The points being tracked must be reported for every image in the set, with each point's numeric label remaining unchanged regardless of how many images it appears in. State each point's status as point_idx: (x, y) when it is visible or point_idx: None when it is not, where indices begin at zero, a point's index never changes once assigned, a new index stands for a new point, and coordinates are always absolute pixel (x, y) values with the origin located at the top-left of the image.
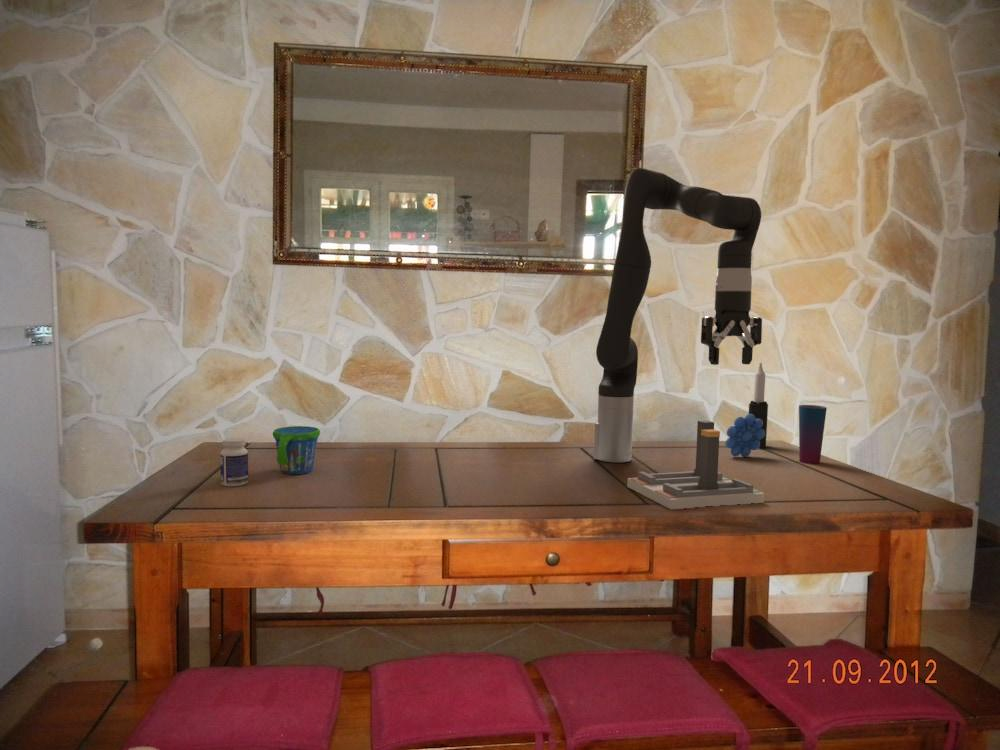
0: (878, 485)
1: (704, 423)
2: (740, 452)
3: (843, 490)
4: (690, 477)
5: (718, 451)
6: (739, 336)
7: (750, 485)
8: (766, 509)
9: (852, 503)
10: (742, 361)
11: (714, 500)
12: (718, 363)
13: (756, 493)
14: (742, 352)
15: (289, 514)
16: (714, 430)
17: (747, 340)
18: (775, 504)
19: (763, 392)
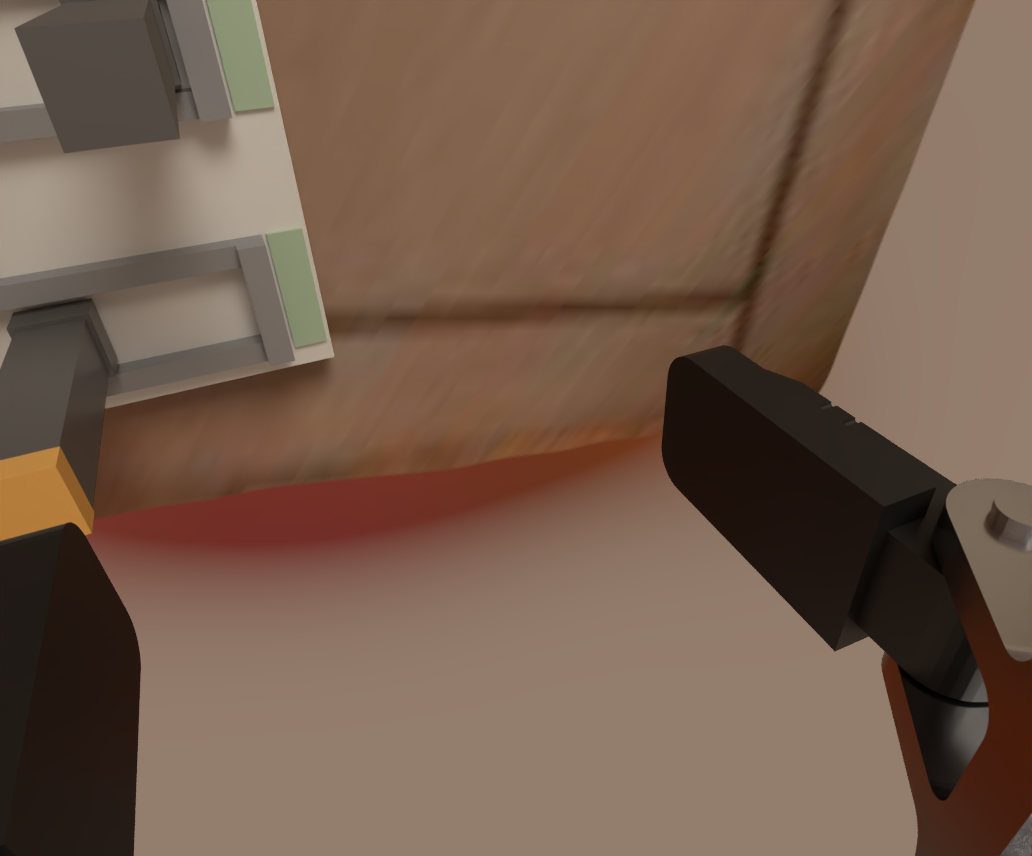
0: (877, 119)
1: (69, 152)
2: None
3: (719, 179)
4: (2, 127)
5: (97, 459)
6: (1028, 808)
7: (280, 363)
8: (294, 419)
9: (619, 343)
10: (691, 379)
11: None
12: (138, 653)
13: (299, 358)
14: (800, 449)
15: None
16: (57, 509)
17: (921, 804)
18: (361, 358)
19: None
